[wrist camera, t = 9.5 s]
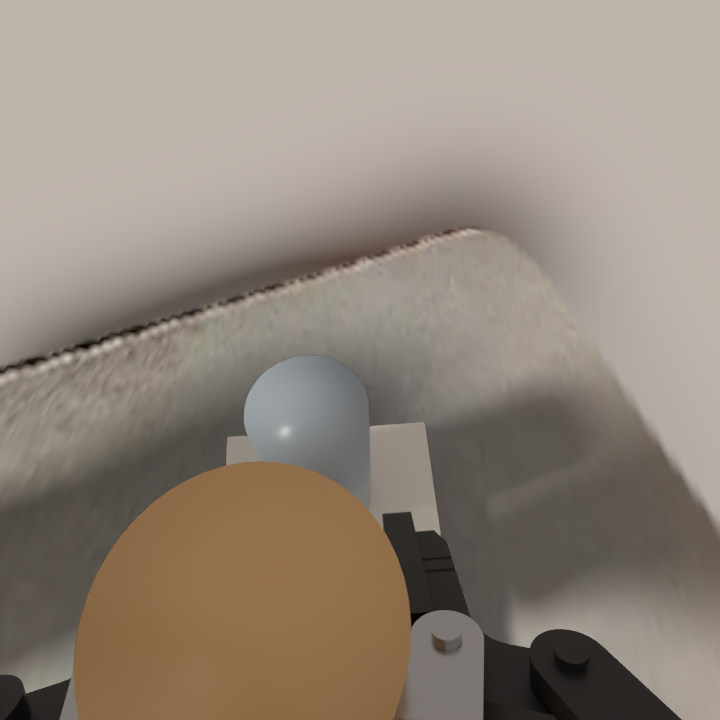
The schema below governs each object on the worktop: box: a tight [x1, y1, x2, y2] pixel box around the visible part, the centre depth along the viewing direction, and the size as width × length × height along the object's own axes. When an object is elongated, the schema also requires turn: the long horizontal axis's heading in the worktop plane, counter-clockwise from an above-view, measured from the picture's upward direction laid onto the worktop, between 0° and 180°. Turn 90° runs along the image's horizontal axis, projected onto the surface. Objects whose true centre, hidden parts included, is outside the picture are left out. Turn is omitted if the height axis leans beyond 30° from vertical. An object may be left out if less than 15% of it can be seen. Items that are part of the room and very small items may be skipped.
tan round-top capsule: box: [73, 461, 411, 720], centre depth 12 cm, size 4×4×12 cm
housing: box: [226, 355, 441, 717], centre depth 21 cm, size 13×10×13 cm
